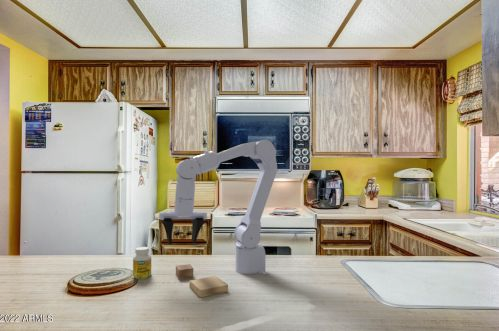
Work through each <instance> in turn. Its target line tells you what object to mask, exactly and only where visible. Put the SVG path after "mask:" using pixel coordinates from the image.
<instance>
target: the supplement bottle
mask: <svg viewBox="0 0 499 331" xmlns="http://www.w3.org/2000/svg"><path fill="white" fill-rule="evenodd" d="M134 252H135V254H134V256H133V257H132V277H133V276H134V277H135V278H136V279H135V280H145V279H149V278H150V277H151V276H152V255H151V254H150V247H149V246H139V247H136V248H135V251H134Z"/></svg>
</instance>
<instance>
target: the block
mask: <svg viewBox="0 0 499 331" xmlns="http://www.w3.org/2000/svg"><path fill="white" fill-rule="evenodd" d="M175 276H176V279H177V280H186V279H193V278H194V267H193V265H192V264H190V263H189V264H179V265H175Z"/></svg>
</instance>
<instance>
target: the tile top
mask: <svg viewBox="0 0 499 331" xmlns="http://www.w3.org/2000/svg"><path fill="white" fill-rule="evenodd" d="M189 289H191V290H192V291H193V292H194V294H195V293H196V294H197V295H198V296H199V297H198V298H205V297H209V295H210V296H215V295H214V294H216V295H219V294H218V293H223V292H227V293H228V292H229V284H228V283H226V282H225V281H223V280H222V279H221V278H220V277H218V276H216V275H214V276H213V275H212V276H207V277H202V278H198V279H192V280H189ZM196 294H195V295H196ZM223 294H224V293H223ZM197 295H196V296H197Z"/></svg>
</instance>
